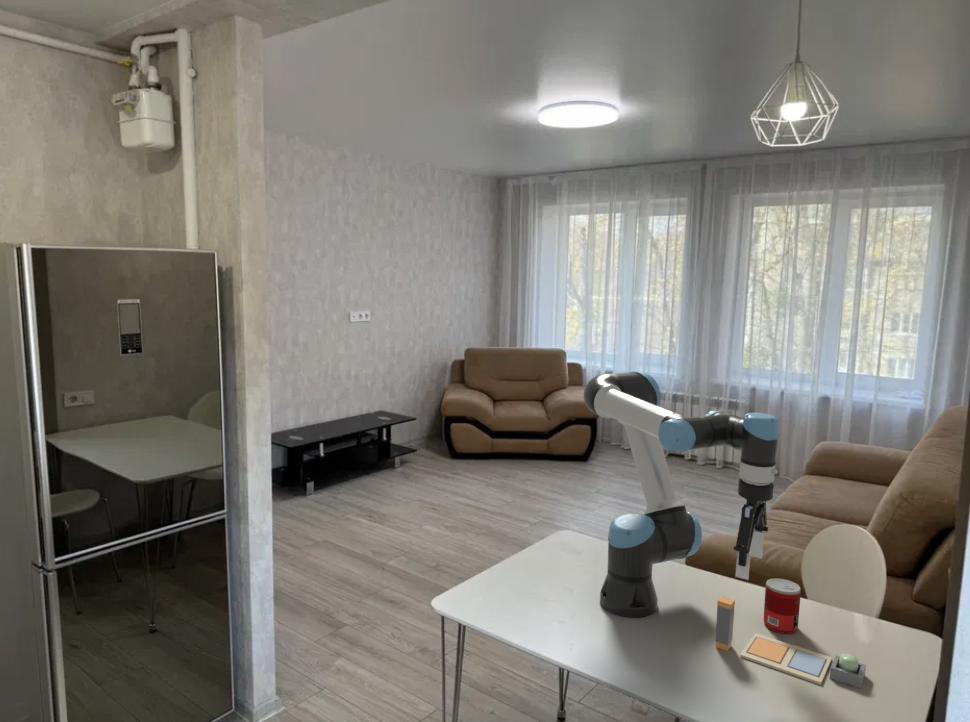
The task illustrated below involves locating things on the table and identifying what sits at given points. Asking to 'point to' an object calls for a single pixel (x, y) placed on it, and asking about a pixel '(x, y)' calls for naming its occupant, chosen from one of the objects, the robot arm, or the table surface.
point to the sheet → (787, 658)
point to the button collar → (847, 674)
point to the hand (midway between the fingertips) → (749, 566)
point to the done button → (848, 663)
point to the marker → (724, 622)
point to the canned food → (782, 605)
